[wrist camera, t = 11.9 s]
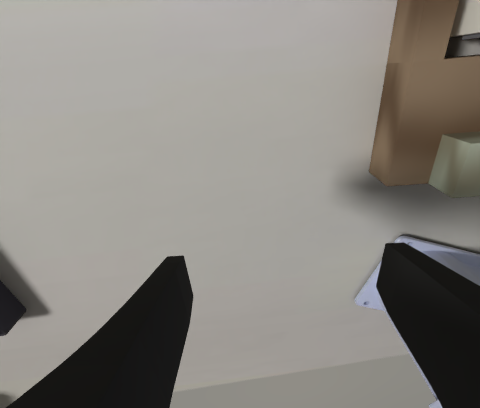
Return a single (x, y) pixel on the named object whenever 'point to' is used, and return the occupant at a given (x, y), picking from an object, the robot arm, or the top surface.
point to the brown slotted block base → (428, 105)
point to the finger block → (467, 20)
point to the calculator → (9, 310)
